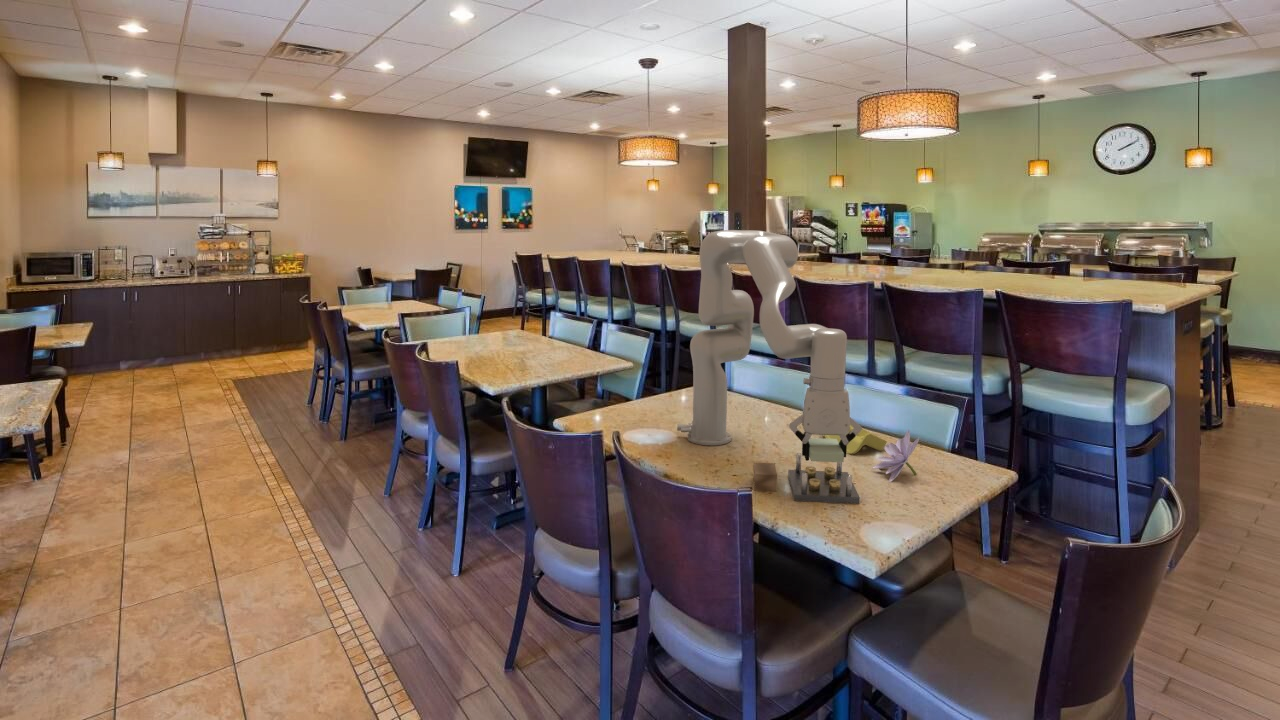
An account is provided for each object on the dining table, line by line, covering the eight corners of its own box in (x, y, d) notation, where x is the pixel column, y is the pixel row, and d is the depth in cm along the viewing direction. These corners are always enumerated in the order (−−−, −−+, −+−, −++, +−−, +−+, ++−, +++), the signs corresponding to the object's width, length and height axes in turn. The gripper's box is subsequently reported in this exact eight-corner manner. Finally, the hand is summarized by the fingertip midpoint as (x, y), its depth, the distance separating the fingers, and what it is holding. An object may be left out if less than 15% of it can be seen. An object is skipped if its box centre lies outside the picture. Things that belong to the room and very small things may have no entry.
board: (811, 461, 152) (811, 452, 151) (805, 446, 162) (806, 437, 162) (843, 462, 151) (844, 453, 150) (836, 447, 161) (836, 438, 161)
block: (754, 490, 157) (755, 474, 157) (753, 478, 165) (753, 462, 164) (776, 491, 157) (777, 475, 156) (774, 479, 164) (774, 463, 164)
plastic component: (890, 443, 185) (865, 431, 181) (878, 467, 185) (852, 456, 181) (844, 419, 203) (820, 408, 198) (833, 441, 203) (809, 430, 199)
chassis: (794, 500, 151) (795, 475, 150) (788, 475, 167) (789, 451, 166) (859, 503, 150) (860, 477, 148) (847, 478, 165) (848, 454, 164)
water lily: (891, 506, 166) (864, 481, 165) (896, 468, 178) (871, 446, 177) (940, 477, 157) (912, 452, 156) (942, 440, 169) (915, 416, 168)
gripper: (789, 386, 151) (786, 463, 154) (870, 388, 149) (866, 466, 152) (786, 379, 158) (783, 453, 162) (863, 381, 156) (859, 455, 159)
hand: (823, 458), depth 157 cm, fingers closed on board, 7 cm apart
